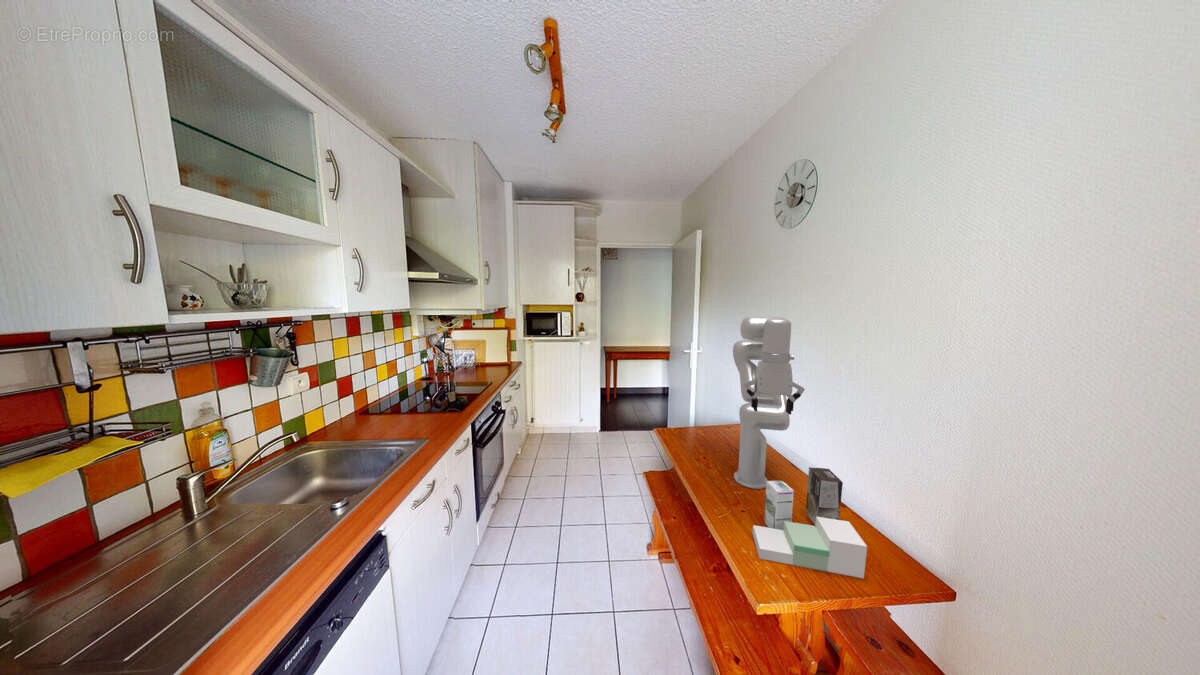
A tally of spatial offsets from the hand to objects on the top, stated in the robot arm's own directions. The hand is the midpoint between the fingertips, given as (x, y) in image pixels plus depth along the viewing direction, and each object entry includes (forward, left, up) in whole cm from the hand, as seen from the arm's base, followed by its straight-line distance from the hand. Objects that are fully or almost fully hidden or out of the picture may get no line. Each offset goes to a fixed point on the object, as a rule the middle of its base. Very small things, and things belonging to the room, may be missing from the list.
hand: (771, 411), depth 105 cm
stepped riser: (+14, +7, -37) cm, 40 cm away
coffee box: (-4, +18, -37) cm, 41 cm away
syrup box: (+4, +3, -37) cm, 37 cm away
